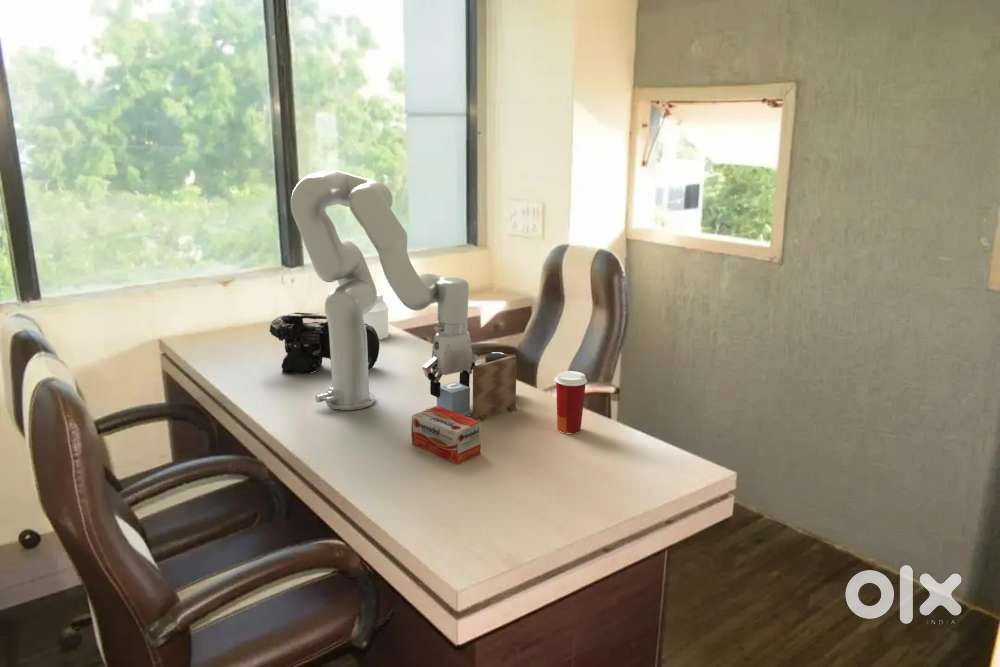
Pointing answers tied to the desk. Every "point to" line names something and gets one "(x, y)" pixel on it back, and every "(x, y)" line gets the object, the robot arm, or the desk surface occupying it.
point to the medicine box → (446, 434)
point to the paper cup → (570, 400)
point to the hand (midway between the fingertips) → (449, 391)
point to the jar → (378, 317)
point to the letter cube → (454, 397)
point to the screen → (494, 387)
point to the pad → (465, 413)
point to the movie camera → (312, 342)
